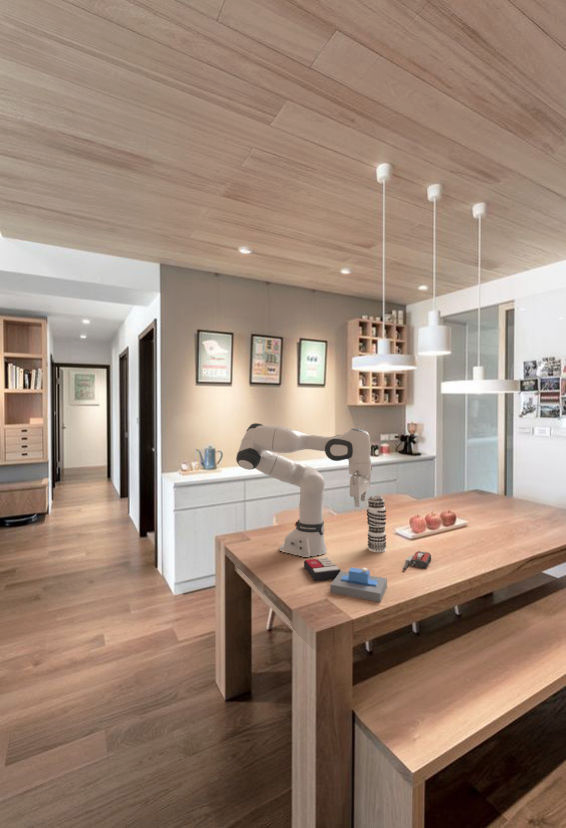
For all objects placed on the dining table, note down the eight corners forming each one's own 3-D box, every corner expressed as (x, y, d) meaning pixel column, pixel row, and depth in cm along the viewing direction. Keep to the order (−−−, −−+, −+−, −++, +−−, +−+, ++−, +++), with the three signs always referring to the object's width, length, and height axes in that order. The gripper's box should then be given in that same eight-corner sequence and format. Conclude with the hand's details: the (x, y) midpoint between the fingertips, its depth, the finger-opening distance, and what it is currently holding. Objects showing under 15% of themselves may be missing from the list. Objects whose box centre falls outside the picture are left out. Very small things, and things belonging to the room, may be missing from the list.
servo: (341, 588, 146) (340, 567, 146) (343, 584, 149) (343, 563, 149) (376, 594, 141) (375, 572, 141) (377, 590, 144) (377, 568, 144)
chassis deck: (330, 592, 143) (330, 584, 143) (340, 578, 155) (340, 570, 155) (380, 602, 135) (380, 593, 135) (387, 586, 147) (386, 578, 147)
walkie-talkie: (412, 555, 178) (401, 571, 161) (411, 546, 178) (400, 561, 161) (432, 559, 173) (423, 576, 156) (432, 549, 173) (423, 565, 156)
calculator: (327, 556, 169) (340, 568, 155) (328, 566, 169) (341, 579, 155) (303, 559, 167) (314, 571, 152) (303, 569, 167) (314, 582, 152)
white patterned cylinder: (387, 546, 189) (386, 495, 189) (386, 553, 180) (386, 499, 180) (367, 544, 192) (367, 494, 191) (366, 551, 183) (365, 498, 182)
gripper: (361, 473, 145) (362, 510, 146) (372, 466, 164) (373, 498, 164) (345, 472, 148) (345, 509, 148) (358, 465, 167) (358, 497, 167)
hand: (360, 503), depth 156 cm, fingers open, 8 cm apart
